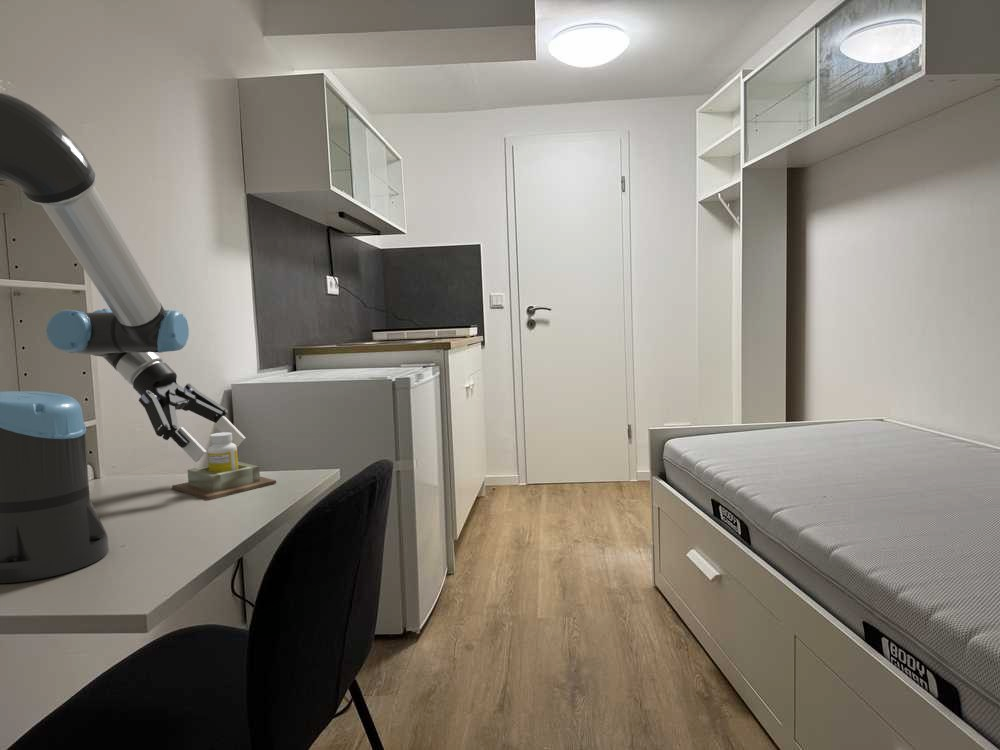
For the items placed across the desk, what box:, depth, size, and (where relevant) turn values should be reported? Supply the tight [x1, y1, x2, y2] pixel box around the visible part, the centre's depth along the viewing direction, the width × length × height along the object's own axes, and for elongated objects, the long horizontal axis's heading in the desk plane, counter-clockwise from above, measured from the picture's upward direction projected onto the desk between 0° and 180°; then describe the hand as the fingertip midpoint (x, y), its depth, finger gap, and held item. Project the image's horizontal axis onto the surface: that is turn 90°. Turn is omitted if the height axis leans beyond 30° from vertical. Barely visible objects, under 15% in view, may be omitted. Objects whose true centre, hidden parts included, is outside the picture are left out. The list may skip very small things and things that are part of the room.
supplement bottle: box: [206, 432, 239, 474], centre depth 129 cm, size 5×5×10 cm
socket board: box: [171, 461, 277, 501], centre depth 129 cm, size 14×14×4 cm
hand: (222, 449), depth 129 cm, fingers open, 13 cm apart
